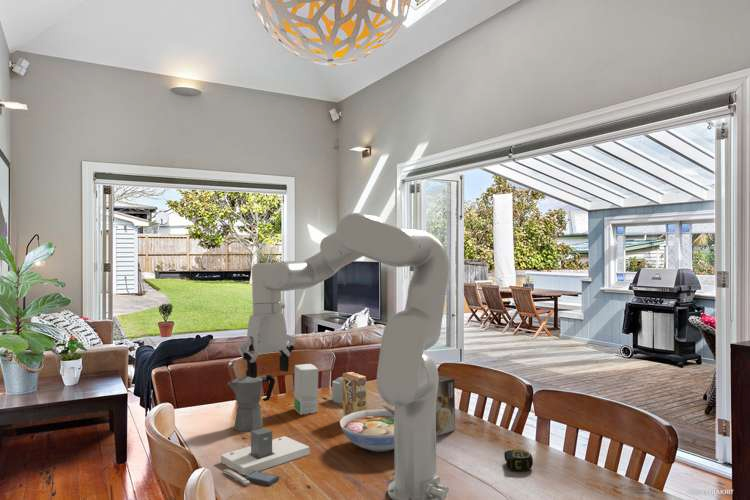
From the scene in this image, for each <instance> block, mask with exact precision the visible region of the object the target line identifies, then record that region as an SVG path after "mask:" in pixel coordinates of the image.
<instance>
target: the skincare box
mask: <svg viewBox="0 0 750 500" xmlns="http://www.w3.org/2000/svg"><path fill="white" fill-rule="evenodd" d="M293 383H294V384H293V385H294V387H293V390H294V393H293V394H294V395H293V396H294V397H293V408H294V410H295V411H296V412H297V413H298V414H299V415H301V416H304V415H310V414H309V413H311V414H317V413H318V411H319V409H318V403H319V402H318V401H319V397H318V396H319V368H318V367H316V365H313V364H312V363H304V364H295V365H294V382H293ZM316 412H317V413H316ZM303 414H304V415H303Z"/></svg>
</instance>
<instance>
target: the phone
mask: <svg viewBox="0 0 750 500" xmlns="http://www.w3.org/2000/svg"><path fill="white" fill-rule="evenodd" d="M244 478H245V479H247V480H249V481H252V482H251V483H255V484H259V483H260V485H263V484H264V486H267V485H268V487H270V486H272V485H273V484H275V483H277V482H278V481H280V476H279V475H274V474H271V473H265V472H261V471H258V472H257V471H254V472H252V473H250V474H249V475H246V476H244Z"/></svg>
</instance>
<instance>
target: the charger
mask: <svg viewBox="0 0 750 500" xmlns="http://www.w3.org/2000/svg"><path fill="white" fill-rule="evenodd" d="M272 440H273V431H272V430H270V429H269V428H265V427H262V428H260V429H257V430H253V431H250V446H251V456H252V457H254V458H256V459H261V458H264V457H267V456H271V455H272Z"/></svg>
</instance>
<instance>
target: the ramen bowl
mask: <svg viewBox="0 0 750 500" xmlns="http://www.w3.org/2000/svg"><path fill="white" fill-rule="evenodd" d="M382 407H383V408H384V409H381V408H380V409H367V410H364V411H359V412H354V413H351V414H349V415H346V416H344V415H343V417H342V418H341V419H340V420H339V424H340V428H341V430H342V432H343V434H344V435H345V437H346V438H347V439H348V440H349V441H350V442H351V443H352V444H354V445H356V446H357V447H360V448H362V449H366V450H369V451H371V452H375V453H385V452H390V451H391V450H394V410H393V409H391V408H389V407H387V406H386V405H382Z"/></svg>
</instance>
